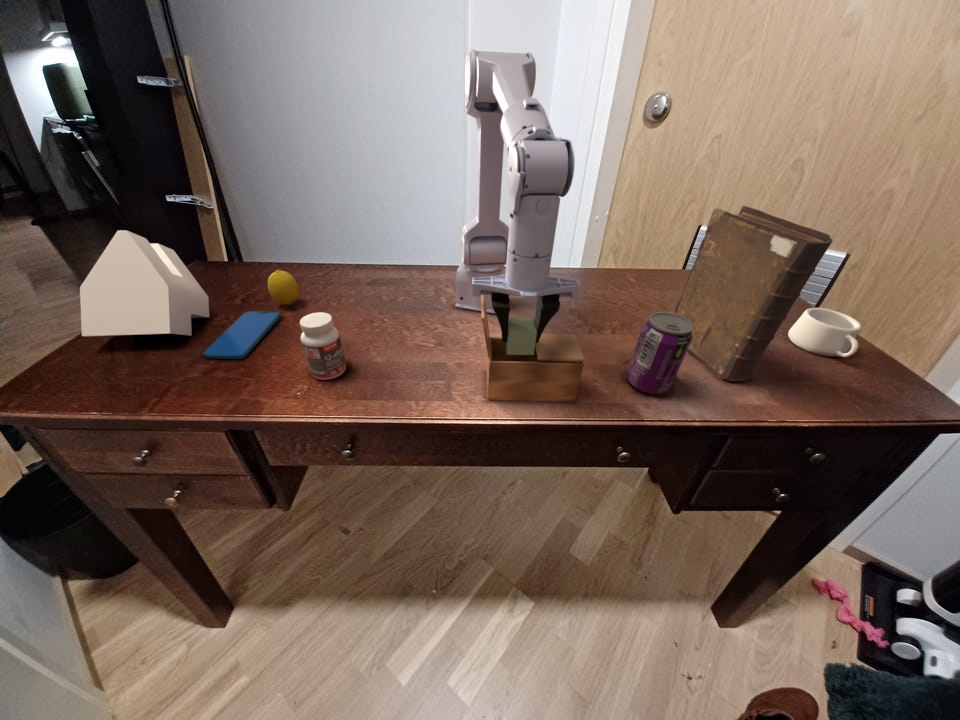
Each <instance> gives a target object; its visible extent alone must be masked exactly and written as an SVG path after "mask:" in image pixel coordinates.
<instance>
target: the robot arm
mask: <svg viewBox="0 0 960 720" xmlns="http://www.w3.org/2000/svg"><path fill="white" fill-rule="evenodd" d="M464 67H465V69H464V87H465V88H464V106H465V109H466V111H465V112H466V114H467V115H468V116H470V117H472V118H474V119H475V121H476V122H475V123H476V127H477V155H476V157H477V159H476V167H477V168H476V199H475V201H476V202H475V205H476V206H475V217H473V218H472V219H471V220H470V221H468V222H467V223H466V224H465V225H463V227H462V229H461V238H460V256H461V262H460V264H459V265H458V268H457V271H456V278H455V297H456V298H455V299H456V300H455V301H456V303H455V307H456V308H459V309H465V310H469V311H470V310H471V311H476V312H481V313H482V306H481V295H484V299H485V306H486V312H487V314H493V315H495V317H496V318H497V321H498V323H499V326H500V327H499V328H500V331H501V337H502V342H507V338H508V320H509V317H510V313H511V305H510V304H511V303H510V300H511V299H510V296H515V297H520V299H521V300H522V301H536V302H535V303H536V304H535V314H534V322H535V326H536V330H537V336H536V343H538V342H539V339H540V337H541V335H542V334H544V331H545V329H546V327H547V325H548V324H549V323H550V321H551V320H552V319H553V318H554V316H555V315H556V314H557V313H558V312H559V311H560V308H561V301H560V297H561V298H563V297H564V298H570V300H579V299H580V293H581V290H582V285H581V284H580V282H579V280H578V279H567V278H561V277H560V278H559V277H555V276H550V270H551V263H552V256H553V251H554V245H555V239H556V238H555V237H556V231H557V223H558V217H559V211H560V206H561V205H560V204H561V198H564V197H566V195H567V194H568V193H569V191H570V189H571V187H572V183H573V179H574V173H575V165H576V163H575V161H576V160H575V150H574V147H573V143H572V140H570V139H568V138H562V137H556V136H555V132H554V131H553V128H552V125H551V123H550V120H549V118H548V116H547V115H548V114H547V113H546V111H545V108H544V106H543V105H542V103H540V101H539V99H538V98H536V97H533V95H534V91H535V86H536V79H537V78H536V77H537V64H536V59H535V58H534V56H533V54H532V52H528V51H526V52H525V53H524V52H521V53H520V52H504V51H502V52H500V51H484V50H476V49H473V48H471V49H470V50H469V52H468V53H467V54H466V58H465V66H464ZM504 147H505V149H504ZM504 151H506V155H507V164H506V182H507V183H506V184H507V202H506V203H507V209H508V211H509V225H508V224H507V223H506V222H504V221H503V220H502V219H500V215H501V198H502V197H501V196H502V183H503V182H502V181H503V168H504V167H503V164H504ZM503 270H505V274H502V272H503Z"/></svg>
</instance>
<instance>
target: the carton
mask: <svg viewBox="0 0 960 720" xmlns="http://www.w3.org/2000/svg"><path fill="white" fill-rule="evenodd" d="M490 348H491V358H488V353H487V356H486V396H487V401H523V402H524V401H527V402H530V401H532V402H533V401H534V402H575V401H576V398H577V393H578V390H579V385H580V381H581V378H582V374H583V370H584V366H585V364H584V363H585V357H584V354H583V352H582V350H581V347H580V344H579V342H578V340H577V337H576V336H575V334H567V333H566V334H562V333H561V334H560V333H542V335H541V337H540V339H539V342H538V343H535V349H534V355H508V354H507V353H506V344H505V342H502V336H490Z"/></svg>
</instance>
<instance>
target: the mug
mask: <svg viewBox="0 0 960 720" xmlns="http://www.w3.org/2000/svg"><path fill="white" fill-rule="evenodd" d="M861 330H862V324H861V323H860V322H859V321H858V320H857V319H855V318H853V317H852V316H850V315H848V314H845V313H842V312H841V311H836V310H833V309H828V308H823V307H810V308H807V309H805V310H804V311H803V312H802V314H801V315H800V317H799V318H798V319H797V320H796V321H795V323H793V325H792V326H791V327H790V328H789V330H788V333H787V335H788V339H789V340H790V342H792V343H793V344H794V345H796V346H797V347H799V348H801V349H802V350H805V351H807V352H809V353H812V354H816V355H819V356H825V357H831V358H832V357H835V358H836V357H841V358H849V357H851V356H853V355H855V354H857V351H858V349H859V342H858V340H857V339H856V338H857V337H858V335H859V333H860V331H861Z"/></svg>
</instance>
